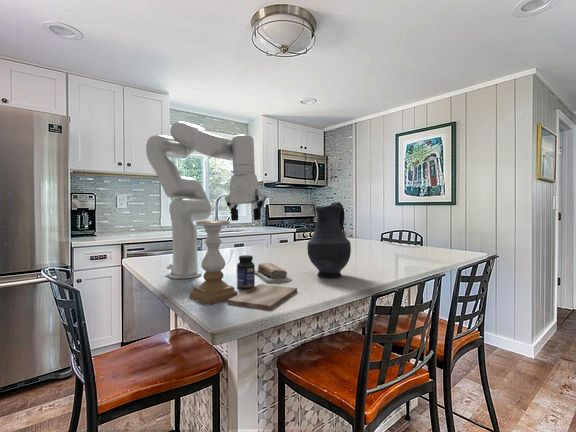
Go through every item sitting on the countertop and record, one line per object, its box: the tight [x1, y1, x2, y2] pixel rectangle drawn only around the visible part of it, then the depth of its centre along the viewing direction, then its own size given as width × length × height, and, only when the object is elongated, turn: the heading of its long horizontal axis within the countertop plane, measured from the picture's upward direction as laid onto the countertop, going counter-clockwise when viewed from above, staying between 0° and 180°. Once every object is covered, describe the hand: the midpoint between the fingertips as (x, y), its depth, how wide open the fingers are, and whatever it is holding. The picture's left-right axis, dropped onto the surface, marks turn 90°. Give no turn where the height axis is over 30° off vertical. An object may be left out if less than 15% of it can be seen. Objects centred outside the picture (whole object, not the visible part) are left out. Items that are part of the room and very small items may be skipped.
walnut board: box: [226, 283, 298, 311], centre depth 100 cm, size 14×20×1 cm
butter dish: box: [255, 262, 292, 284], centre depth 128 cm, size 18×5×10 cm
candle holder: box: [189, 220, 238, 306], centre depth 100 cm, size 11×11×24 cm
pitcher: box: [306, 201, 352, 279], centre depth 131 cm, size 17×21×30 cm
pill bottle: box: [236, 254, 256, 291], centre depth 112 cm, size 6×6×11 cm
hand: (245, 220), depth 112 cm, fingers open, 9 cm apart
